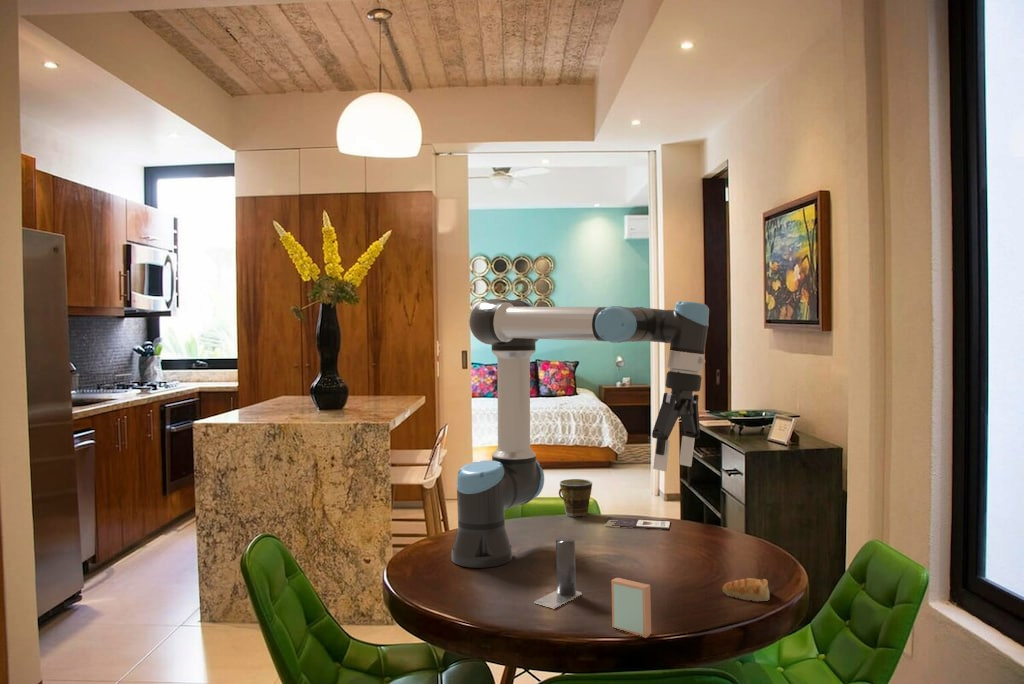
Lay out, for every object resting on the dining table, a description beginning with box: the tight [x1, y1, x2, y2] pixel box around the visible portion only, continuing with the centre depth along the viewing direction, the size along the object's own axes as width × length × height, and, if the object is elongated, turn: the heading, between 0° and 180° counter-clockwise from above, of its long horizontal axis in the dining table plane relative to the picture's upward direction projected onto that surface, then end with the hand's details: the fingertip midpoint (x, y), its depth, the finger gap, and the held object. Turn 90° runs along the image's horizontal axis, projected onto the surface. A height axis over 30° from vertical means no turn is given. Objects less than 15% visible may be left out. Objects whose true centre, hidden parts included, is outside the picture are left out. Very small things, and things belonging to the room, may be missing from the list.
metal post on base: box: [533, 537, 582, 610], centre depth 146 cm, size 5×10×12 cm, turn 141°
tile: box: [610, 577, 652, 639], centre depth 129 cm, size 7×2×9 cm, turn 51°
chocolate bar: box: [607, 516, 671, 531], centre depth 203 cm, size 9×1×18 cm
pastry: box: [722, 577, 770, 602], centre depth 146 cm, size 9×7×4 cm
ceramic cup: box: [558, 478, 593, 518], centre depth 214 cm, size 13×10×10 cm
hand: (672, 467), depth 154 cm, fingers open, 13 cm apart
